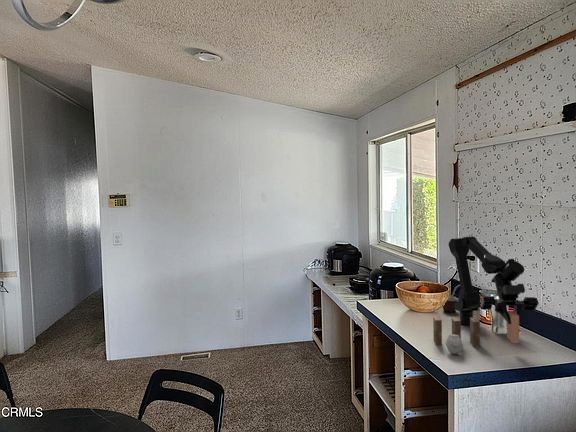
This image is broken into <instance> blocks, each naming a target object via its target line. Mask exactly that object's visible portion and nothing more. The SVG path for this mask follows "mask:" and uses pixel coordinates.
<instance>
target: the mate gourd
mask: <svg viewBox="0 0 576 432" xmlns="http://www.w3.org/2000/svg"><path fill="white" fill-rule="evenodd" d="M458 287H460V284H458V285H456V286H455V287H454V289H453V291H452V294H449V295H450V296H449V298H448V300H447V302H446V303H445V305H444V306H443V305H442V309H443V311H442V312H443V313H449V314H452V315H453V313H457V310H455V306H454V305H455V304H456V302H457V301H458V300H457V297H456V296H454V295H455V292H456V290H457V288H458Z"/></svg>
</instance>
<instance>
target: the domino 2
mask: <svg viewBox="0 0 576 432" xmlns="http://www.w3.org/2000/svg"><path fill="white" fill-rule="evenodd" d="M452 334H455V335H459V338H460V339H461V340H462V326H461V321H460V317H458V316H452V317H451V335H452Z"/></svg>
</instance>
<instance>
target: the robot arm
mask: <svg viewBox="0 0 576 432" xmlns="http://www.w3.org/2000/svg"><path fill="white" fill-rule="evenodd" d="M448 249H449V251H450V254H451V255H452V256H453V257H454V258H455V262H456V263H455V264H456V269H457V275H458V280H459V285H460V286H459V287H460V290H459V292H458V295H457V296H458V300H457V302H456V304H455V305H454V306H455V311H458V312H459V319H460V321H461V325H462V326H469V327H470V318H474V312H475V311H476V312H478V311H479V308H481V310H490V309H491V308H492V305H494V306H495V311H497V312H498V313H499V314H501V315H502V316H503V318H504V319H505V320H506V323H507V322H508V323H509V324H511V320H510V317H509V314H508V312H509V310H508V311H507V307H506V306H508V307H510V306H511V307H512V306H513V308H514V309H513V311H512V312H515V313H516V314H517V315H519V323H520V321H521V313H523V311H529V312H534V311H535V310H536V309H537V307H538V306H539V303H540V302H539V300H538V298H537V297H533V296H531V297H530V296H525V297H524V298H523V300H517V299H519V295H521V294H524V293H525V291H526V289H525V285H524V283H517V284H514V285H513V281H514V282H515V281H516V280H517V279H518V278H519V277H520V276H521V275H522V274H523V273H524V272H525V267H524V265H522V264H521V263H520V262H518V261H517V260H515V259H514V258H508V259H507V261H506V262H505V260H503V259H502V258H501V257H499V256H497V255H494V254H492V253H490V251H488V249H486V248H485V247H484V245H482V243H480V242H479V241H478V240H477V237H475V236H473V235H472V236H470V235H469V236H464V237H457V238H451V239H450V240H448ZM469 251H470V252H472V253H473V255H475V256H476V258H477V259H478V260H479V261H480V263H481V268H482V269H483V270H484V271H485V273H487V274H488V275H491V274H492V275H493V274H495V275H494V276H493V278H492V279H491V283H494V285H495V289H496V296H498V297H499V299H496V300H495V297H494V296H495V295H489V296H488V295H487V296H486V295H484V296H483V297H482V299H480V296H479V295H480V293H479V292H478V291H477V290H475V289H474V287H473V283H472V279H471V278H472V277H471V271H470V267H469V262H468V254H469Z"/></svg>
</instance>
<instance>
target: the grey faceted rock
mask: <svg viewBox="0 0 576 432" xmlns="http://www.w3.org/2000/svg"><path fill="white" fill-rule="evenodd" d="M445 346H446V348H447V350H448V352H449V353H450V354H452V355H458V354H460V353H462V350H463V347H464V343H463V342H462V338H461V339H460V338H459V335H455V334H452V333H451V334H449V335H448V337H447V338H446V342H445Z"/></svg>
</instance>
